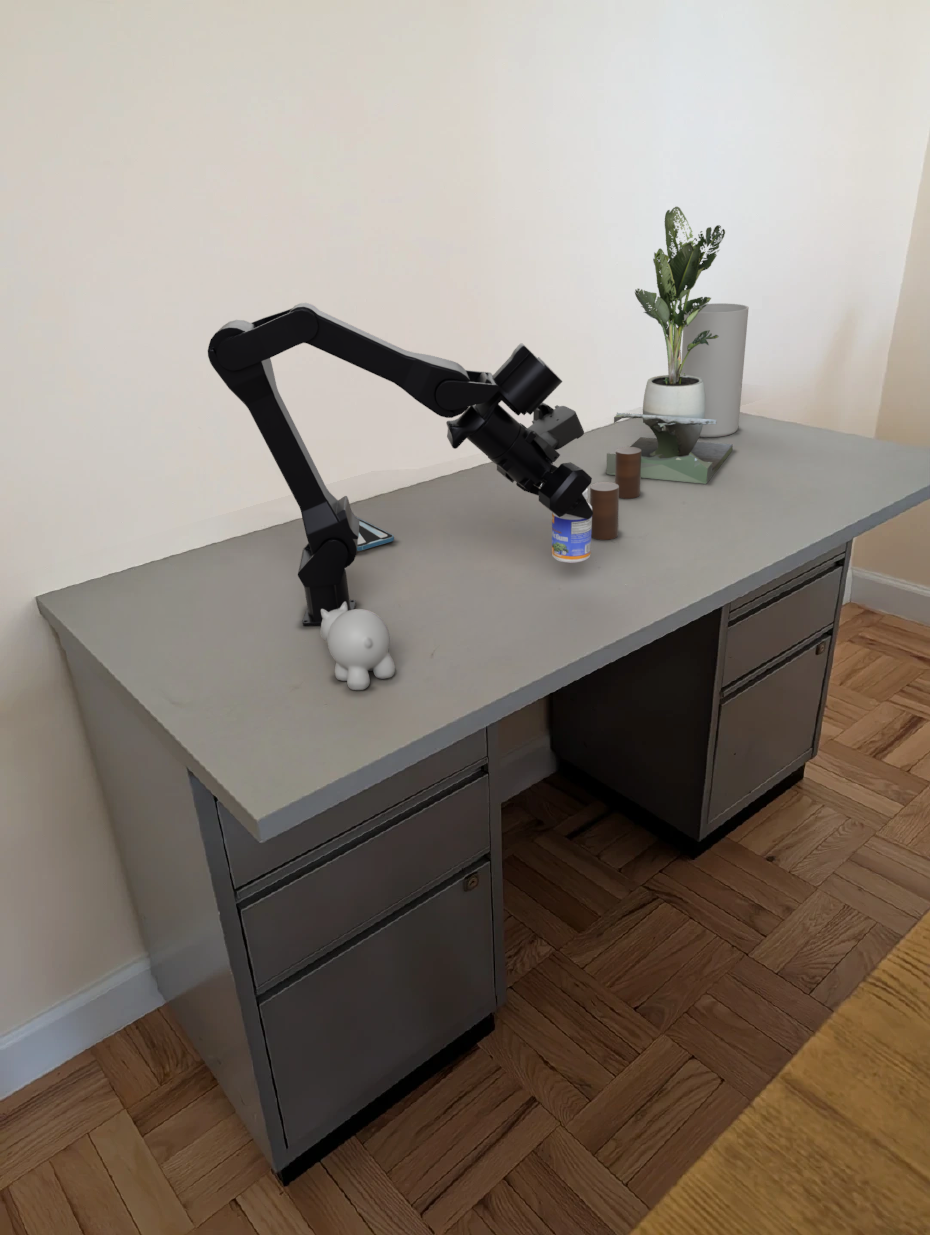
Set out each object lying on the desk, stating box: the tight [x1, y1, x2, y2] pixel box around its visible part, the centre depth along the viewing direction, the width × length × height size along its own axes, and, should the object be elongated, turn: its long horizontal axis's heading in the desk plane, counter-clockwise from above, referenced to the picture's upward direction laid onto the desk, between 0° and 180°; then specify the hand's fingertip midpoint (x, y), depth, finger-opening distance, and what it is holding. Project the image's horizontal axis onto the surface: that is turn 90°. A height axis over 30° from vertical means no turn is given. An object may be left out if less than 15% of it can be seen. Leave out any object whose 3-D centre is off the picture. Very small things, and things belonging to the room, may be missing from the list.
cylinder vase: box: [680, 303, 749, 438], centre depth 186 cm, size 12×12×25 cm
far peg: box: [614, 446, 641, 500], centre depth 156 cm, size 4×4×8 cm
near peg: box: [589, 481, 620, 541], centre depth 140 cm, size 4×4×8 cm
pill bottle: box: [551, 488, 592, 564], centre depth 121 cm, size 5×5×10 cm
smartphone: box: [356, 516, 395, 552], centre depth 147 cm, size 7×1×15 cm
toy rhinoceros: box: [319, 601, 396, 691], centre depth 105 cm, size 7×12×8 cm, turn 34°
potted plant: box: [605, 206, 733, 485], centre depth 163 cm, size 22×19×45 cm
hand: (581, 509), depth 121 cm, fingers closed on pill bottle, 5 cm apart
